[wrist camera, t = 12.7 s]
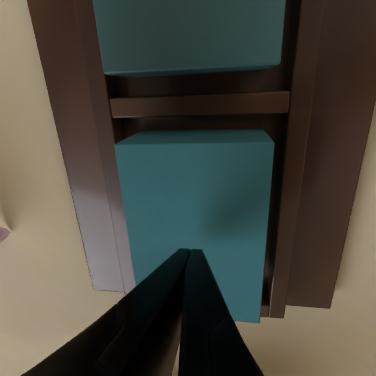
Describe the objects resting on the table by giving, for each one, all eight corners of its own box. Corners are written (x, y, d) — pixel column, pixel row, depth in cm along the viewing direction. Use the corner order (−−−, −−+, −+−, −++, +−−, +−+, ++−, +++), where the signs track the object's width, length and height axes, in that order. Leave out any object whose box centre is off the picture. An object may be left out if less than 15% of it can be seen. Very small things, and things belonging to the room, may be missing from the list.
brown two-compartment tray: (453, -345, 7) (725, -864, 3) (324, 295, 15) (356, 364, 11) (-7, -224, 9) (-175, -445, 5) (100, 279, 17) (65, 332, 13)
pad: (262, 127, 11) (274, 141, 8) (253, 276, 14) (259, 323, 11) (140, 130, 12) (113, 144, 9) (155, 270, 15) (139, 312, 12)
